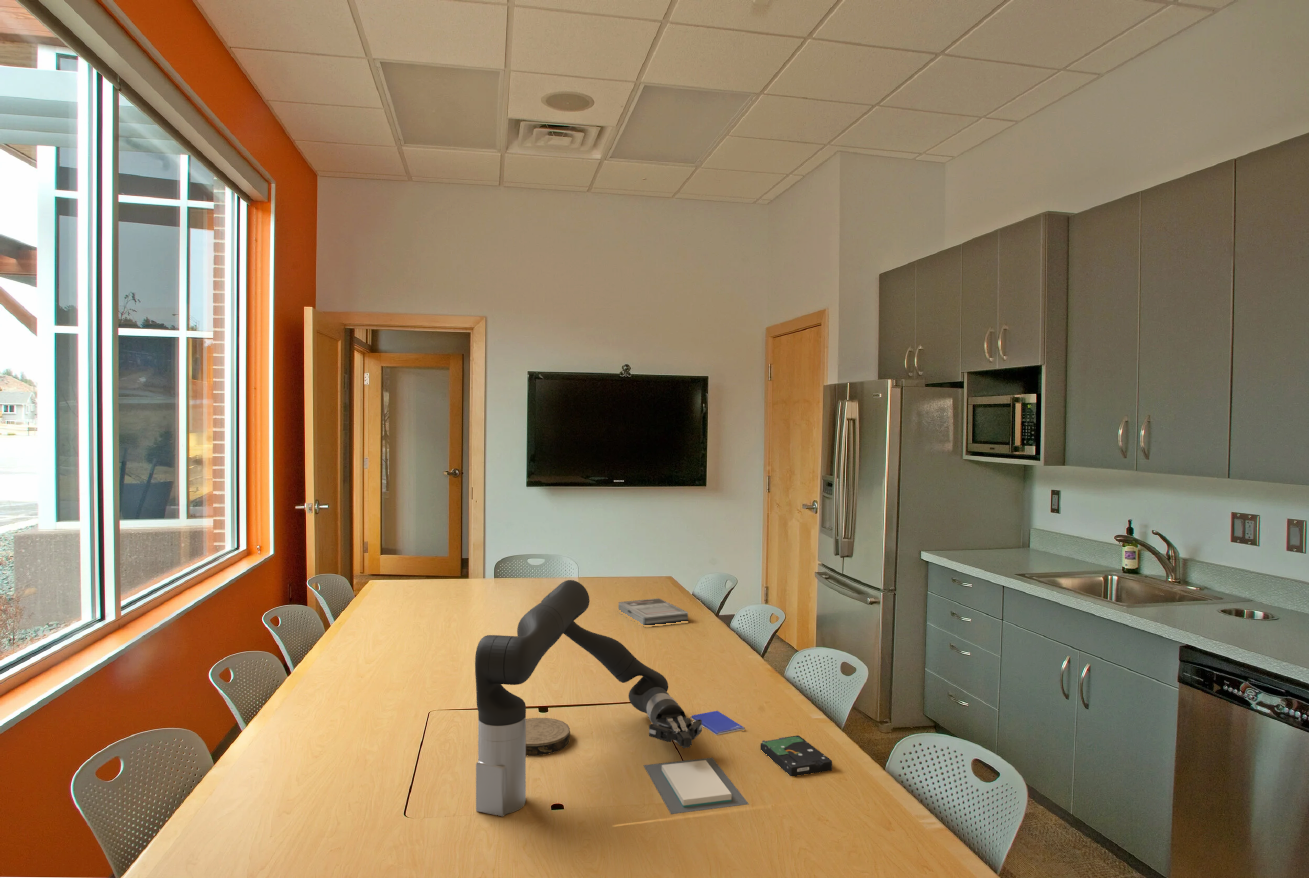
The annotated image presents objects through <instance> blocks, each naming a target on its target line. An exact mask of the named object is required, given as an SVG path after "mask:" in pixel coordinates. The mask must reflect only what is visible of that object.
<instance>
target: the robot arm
mask: <svg viewBox="0 0 1309 878" xmlns="http://www.w3.org/2000/svg"><path fill="white" fill-rule="evenodd" d="M590 601H591V600H590V595H589V592H588V590H587V589H586V587H585V586H584V585H583V584H582V583H580V582H578V580H573V579H568V580H564V581H562V582H560V584H558V585H557V586H556V587H555V588H554V589H553V590H552V591H551V592H549V593H548V594H547V595H546V596H544V598H543V599H542V600H541V601H540V602H539V603H538V604H536V605H535V606H534V607H532V608H531V609H529V611H527V612H526V613H525V614H524V615H523V616H522V617H521V618H520V620H519V622H518V625H517V628H516V629H517V630H516V633H517V635H500V634H498V635H497V634H487V635H484V636H483V637H482V638H480V640H479V642H478V644H477V647H476V651H475V657H474V675H475V688H476V689H475V691H476V708H477V715H478V716H477V717H478V718H477V719H478V723H477V724H478V727H477V729H478V730H477V731H478V735H477V738H478V741H477V743H478V744H477V745H478V747H477V748H478V749H477V750H478V751H477V755H478V756H477V757H478V758H477V759H478V761H477V762H476V763H475V811H476V812H480V813H485V814H488V815H494V816H497V815H498V817H504V816H505V815H508V814H510V813H514V812H517V811H519V810H520V809H522V808H523V807H524V806H525V804H526V799H527V798H526V795H527V794H526V790H527V789H526V788H527V781H526V779H527V777H526V769H527V768H526V767H527V766H526V765H527V764H526V763H527V762H526V719H527V708H526V707H527V706H526V702H525V701H524V700H523V698H521V697H519V696H518V695H515V694H513V693H512V692H510V691H509V690H508V689H506V688H505V687H504V686H503V685H506V686H507V685H509V686H517V685H522V684H524V683H525V682H526V681H527V680H529V679H530V677H532V674H533V673H534V671H535V670H536V668H537V666H538V664H539V663H540V662H541V660H542V658H543V657H544V656H545V655H546V654H547V652H548V650H550V649H551V647H553V646H554V645H555V643H557V642H558V641H559V640H560V638H561V636H562V635H565V636H566V637H567V638H568V639H570V640H571V641H573V642H574V643H575V644H576V645H578V646H579V647H580V648H582V649H584V650H585V651H586V652H587V653H589V654H590V655H591V656H593V657H594V659H596V660H597V661H598V662H599V663H601V665H603V667H604V668H606V670H607V671H608V672H609V673H610V674H611V675H612V676H613V677H614V678H615V679H616V680H617V681H618V682H620V683H623V684H625V683H628V682H630V681H632V680H633V679H634V678H636V677H641V678H640V679H639V680H638V681H637V682H636V683H635V684H634V685H633V686H632V687H631V688H630V690H629V691H628V701H629V702H630V704H631V706H632V707H634V708H635V709H636V710H637V711H640V712H641V713H645V714H646V715H647V717H648V719H649V721H650V722H651V723H650V724H648V732H649V733H648V736H649V737H650V738H654V739H657V740H660V741H664V742H666V743H671V742H672V741H674V743H677V744H678V745H679V746H680V747H682V749H690V748H691V746H692V745H693V740H695V739H696V738H697V737H698V736H699V735H700V734H701V733H702V731H703V730H702V729H703V727H702V720H700V719H698V720H696V721H693V720H691V717H690V718H689V717H687V716H686V715H687V714H686V713H685V711H684V709H683V708H682V707H681V705H680V704H679V703H678V702H677V701H676V700H675V699H674V698H673V697H672V696H671V695H670V694H669V692H668V690H669V682H668V680H667V679H666V677H665V676H664V675H663V674H661V673H660V672H658V671H657V670H654V669H653V668H651V667H649V666H647V665H646V664H644V663H642V662H641V661H640V660H639V659H637V658H636V657H635V655H634V654H632V653H631V652H630V651H629V649H628V648H627V647H626V646H625V645H624V644H623V643H621V642H620V641H619V640H616V639H615V638H613V637H610V636H606V635H603V634H600V633H596V632H592V631H590V630H587V629H586V628H584V627H582V626H581V625H579V624H578V623H577V622H576V619H578V618H579V617H580V616H582V614H584V613H585V612H586V611H587V610H588V608H589V606H590Z"/></svg>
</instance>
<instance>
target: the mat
mask: <svg viewBox="0 0 1309 878" xmlns="http://www.w3.org/2000/svg"><path fill="white" fill-rule="evenodd" d="M703 760H706V761H707V762H708V764H709V765H710V766H711V768H712V769H713V770H714V772H715V773H716V774H717V776H718V777H719V778H720V779H721V781H722V782H723V783H724V785H725V786H726V787H727V789H728V790H729V791H730V793H731V794H732V797H731V802H723V803H715V804H707V805H699V806H691V807H683V806H682V805H681V803H680V801H679V800H678V798H677V796H676V795H675V793H674V791H673V790H672V788H671V786H670V785H669V783H668V782H667V780H666V778H665V777H664V775H663V773H662V765H667V764H676V763H685V762H694V761H703ZM643 767H644V770H645V771H646V773H647V774H648V776H649V779H650V780H651V782H652V784H653V785H654V787H655V788H656V789H655V790H657V793H659V795H660V797H661V799H662V801H663V803H664V804H665V806H666V808H667V810H668V811H669V813H670V815H675V814H684V813H691V812H698V811H706V810H707V811H708V810H713V809H722V808H729V807H730V808H731V807H737V806H744V805H749V802H748V801H747V800H746V798H745V797H744V796H743V794H742V793H741V792H740V790H739V789H738V788H737V787H736V786H735V784H734V783H733V782H732V780H731V779H730V778H729V776H728V775H727V774H726V772H725V771H724V770H723V769H722V768H721V766H719V764H718V763H717V761H716V760H715V759H714V758H713V757H704V758H695V759H688V760H681V761H680V760H679V761H670V762H662V763H651V764H644V765H643Z"/></svg>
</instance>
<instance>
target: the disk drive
mask: <svg viewBox="0 0 1309 878" xmlns="http://www.w3.org/2000/svg"><path fill="white" fill-rule="evenodd" d="M761 750H762V751H763V752H764V753H765V754H767V755H766V757H768V756H769V757H770V758H771V759H772V760H773V761H772V762H773V763H775V764H776V763H777V764H778V765H779V766H780V767H781V768H780V767H779V766H778V765H777V764H776V765H777V766H778V767H779V768H780V769H782V771H784V772H785V773H786V772H787V773H788V774H789V775H788V774H787V773H786V774H787V775H788V776H790V777H791V776H795V777H798V776H797V775H801V776H805V775H804V774H808V775H811V773H814V774H819V772H820V773H825V772H831V771H833V760H831V758H830V757H828V756H827V755H826V754H824V753H822V751H820V750H819V749H817V748H816V747H815V746H813V745H812V744H811V743H810V742H808V741H806V740H805V738H803V737H802V736H800V735H798V734H797V735H792V736H791V735H790V736H784V737H783V736H781V737H778V738H777V739H775V738H774V739H770V740H762V741H761V743H760V751H761ZM762 751H761V752H762ZM763 752H762V753H763ZM764 753H763V754H764ZM765 754H764V755H765ZM769 757H768V758H769ZM770 758H769V759H770ZM771 759H770V760H771Z"/></svg>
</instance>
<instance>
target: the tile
mask: <svg viewBox="0 0 1309 878" xmlns="http://www.w3.org/2000/svg"><path fill="white" fill-rule="evenodd" d="M662 773H663V775H664V777H665V778H666V780H667V782H668V783H669V785H670V786H671V788H672V790H673V791H674V793H675V795H676V796H677V798H678V800H679V801H680V803H681V805H682V806H683V807H691V806H699V805H707V804H715V803H723V802H731V797H732V794H731V793H730V791H729V790H728V789H727V787H726V786H725V785H724V783H723V782H722V781H721V779H720V778H719V777H718V776H717V774H716V773H715V772H714V770H713V769H712V768H711V766H710V765H709V764H708V762H707V761H706V760H703V761H694V762H685V763H676V764H667V765H662Z"/></svg>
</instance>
